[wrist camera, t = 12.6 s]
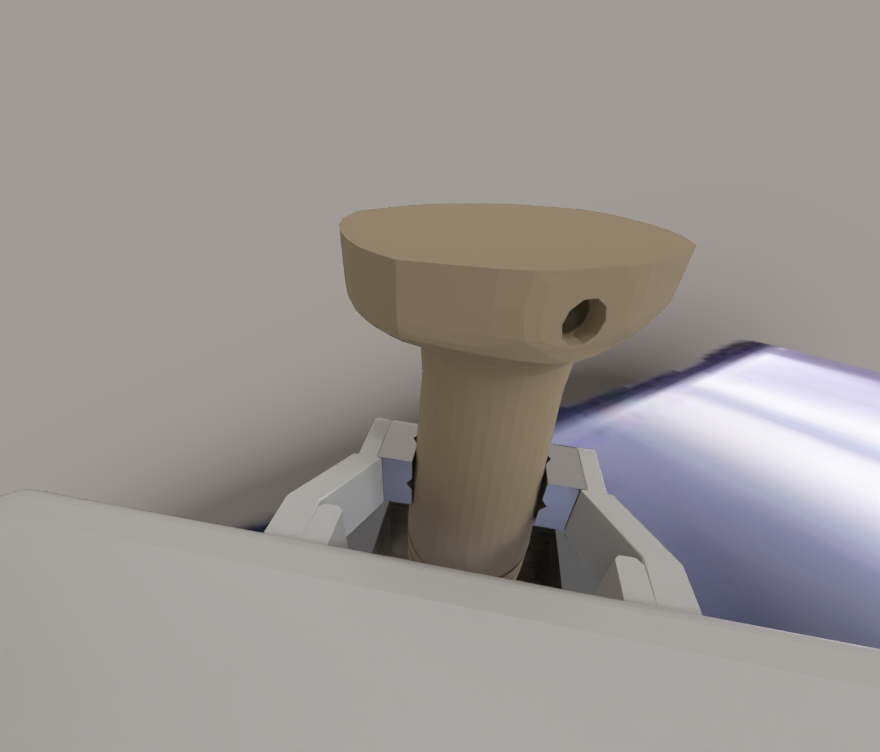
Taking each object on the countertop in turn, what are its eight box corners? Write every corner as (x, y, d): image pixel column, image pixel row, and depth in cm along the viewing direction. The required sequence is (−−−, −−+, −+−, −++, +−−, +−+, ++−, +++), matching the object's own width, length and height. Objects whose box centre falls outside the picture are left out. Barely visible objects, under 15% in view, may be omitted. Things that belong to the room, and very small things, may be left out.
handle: (368, 573, 16) (327, 203, 8) (498, 534, 18) (579, 203, 10) (392, 710, 12) (364, 283, 4) (553, 643, 14) (762, 257, 6)
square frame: (560, 561, 21) (583, 507, 18) (591, 837, 13) (642, 817, 10) (374, 528, 22) (369, 472, 19) (294, 762, 14) (265, 724, 11)
